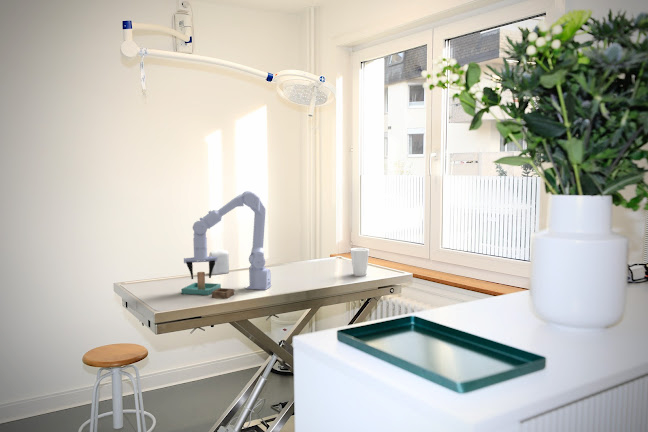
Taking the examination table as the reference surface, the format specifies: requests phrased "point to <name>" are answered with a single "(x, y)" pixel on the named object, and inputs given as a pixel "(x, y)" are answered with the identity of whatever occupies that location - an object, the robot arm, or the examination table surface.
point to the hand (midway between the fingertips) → (201, 278)
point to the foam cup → (359, 260)
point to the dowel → (201, 280)
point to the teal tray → (195, 291)
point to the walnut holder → (222, 293)
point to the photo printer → (220, 261)
